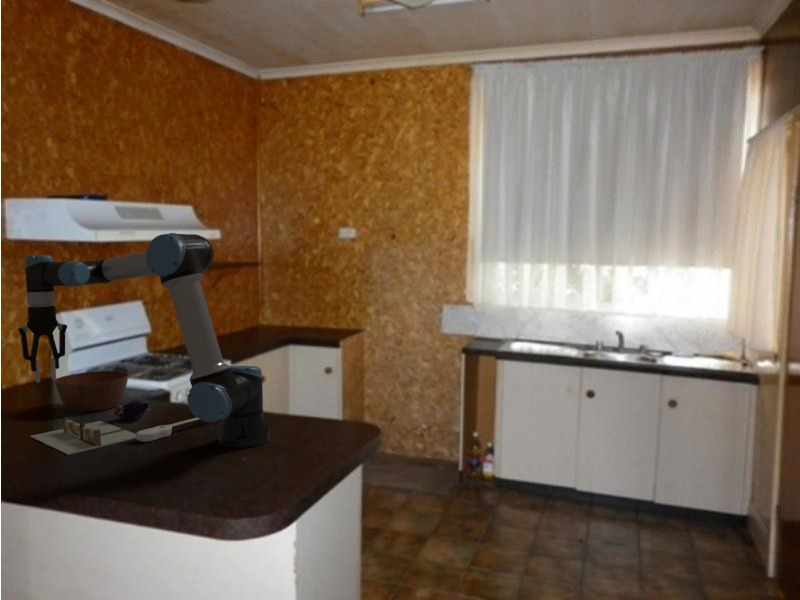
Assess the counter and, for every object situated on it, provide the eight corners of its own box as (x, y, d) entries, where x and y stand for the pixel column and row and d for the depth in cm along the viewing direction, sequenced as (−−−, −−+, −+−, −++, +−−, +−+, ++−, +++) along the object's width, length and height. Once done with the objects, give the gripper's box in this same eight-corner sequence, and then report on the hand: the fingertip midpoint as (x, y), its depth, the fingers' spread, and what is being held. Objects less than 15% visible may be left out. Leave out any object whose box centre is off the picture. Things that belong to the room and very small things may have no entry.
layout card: (141, 437, 197) (141, 435, 197) (67, 455, 180) (67, 453, 180) (100, 422, 215) (100, 420, 215) (30, 437, 198) (30, 435, 198)
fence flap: (83, 436, 196) (82, 423, 195) (78, 437, 195) (77, 424, 194) (68, 430, 203) (67, 417, 203) (63, 431, 202) (62, 418, 202)
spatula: (207, 421, 215) (207, 412, 215) (218, 423, 212) (217, 415, 212) (131, 441, 192) (131, 432, 192) (142, 444, 189) (142, 435, 189)
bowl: (81, 419, 219) (79, 387, 218) (42, 410, 232) (40, 380, 231) (144, 404, 240) (142, 374, 239) (104, 396, 253) (103, 368, 252)
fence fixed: (101, 446, 188) (100, 428, 188) (96, 447, 187) (95, 429, 187) (84, 439, 195) (83, 422, 195) (79, 440, 194) (78, 423, 194)
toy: (150, 421, 216) (149, 403, 215) (114, 426, 212) (112, 407, 211) (151, 411, 226) (150, 393, 225) (117, 416, 222) (115, 398, 221)
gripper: (68, 302, 201) (72, 375, 203) (7, 306, 190) (12, 382, 192) (74, 304, 195) (78, 378, 197) (11, 308, 185) (16, 386, 186)
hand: (45, 380), depth 195 cm, fingers open, 4 cm apart
